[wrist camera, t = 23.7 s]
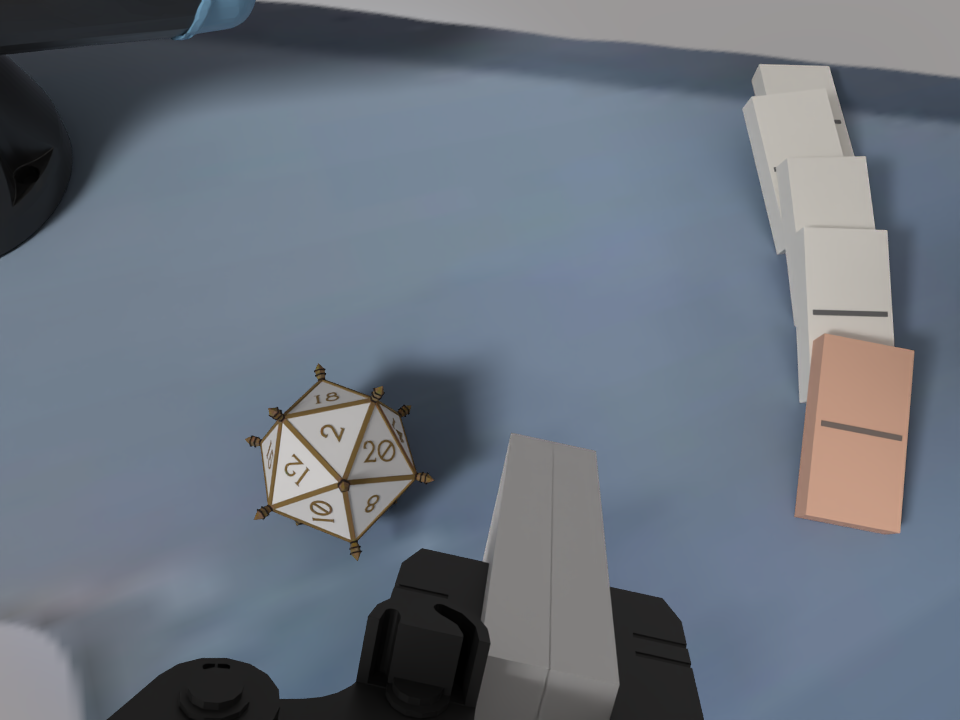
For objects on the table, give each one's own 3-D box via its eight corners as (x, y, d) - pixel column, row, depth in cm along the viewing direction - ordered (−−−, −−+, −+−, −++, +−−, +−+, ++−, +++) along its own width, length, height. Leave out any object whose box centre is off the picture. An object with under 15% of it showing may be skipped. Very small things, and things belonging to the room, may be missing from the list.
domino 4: (898, 401, 52) (887, 229, 53) (812, 399, 51) (804, 226, 53) (882, 404, 54) (873, 238, 55) (799, 403, 53) (791, 235, 55)
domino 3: (887, 317, 54) (866, 155, 56) (806, 320, 54) (787, 157, 55) (872, 323, 56) (852, 166, 58) (793, 326, 56) (775, 167, 57)
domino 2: (864, 235, 57) (826, 87, 59) (788, 246, 56) (752, 96, 58) (851, 244, 59) (814, 100, 60) (776, 254, 58) (741, 108, 60)
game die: (360, 478, 53) (443, 350, 48) (389, 602, 47) (487, 469, 42) (207, 450, 48) (282, 305, 43) (216, 583, 42) (304, 431, 37)
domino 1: (862, 181, 59) (829, 65, 64) (787, 180, 59) (759, 63, 63) (850, 198, 61) (819, 83, 65) (777, 196, 60) (751, 81, 65)
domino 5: (900, 533, 48) (914, 350, 50) (806, 514, 48) (825, 333, 50) (885, 534, 50) (899, 357, 52) (794, 516, 50) (812, 340, 52)
